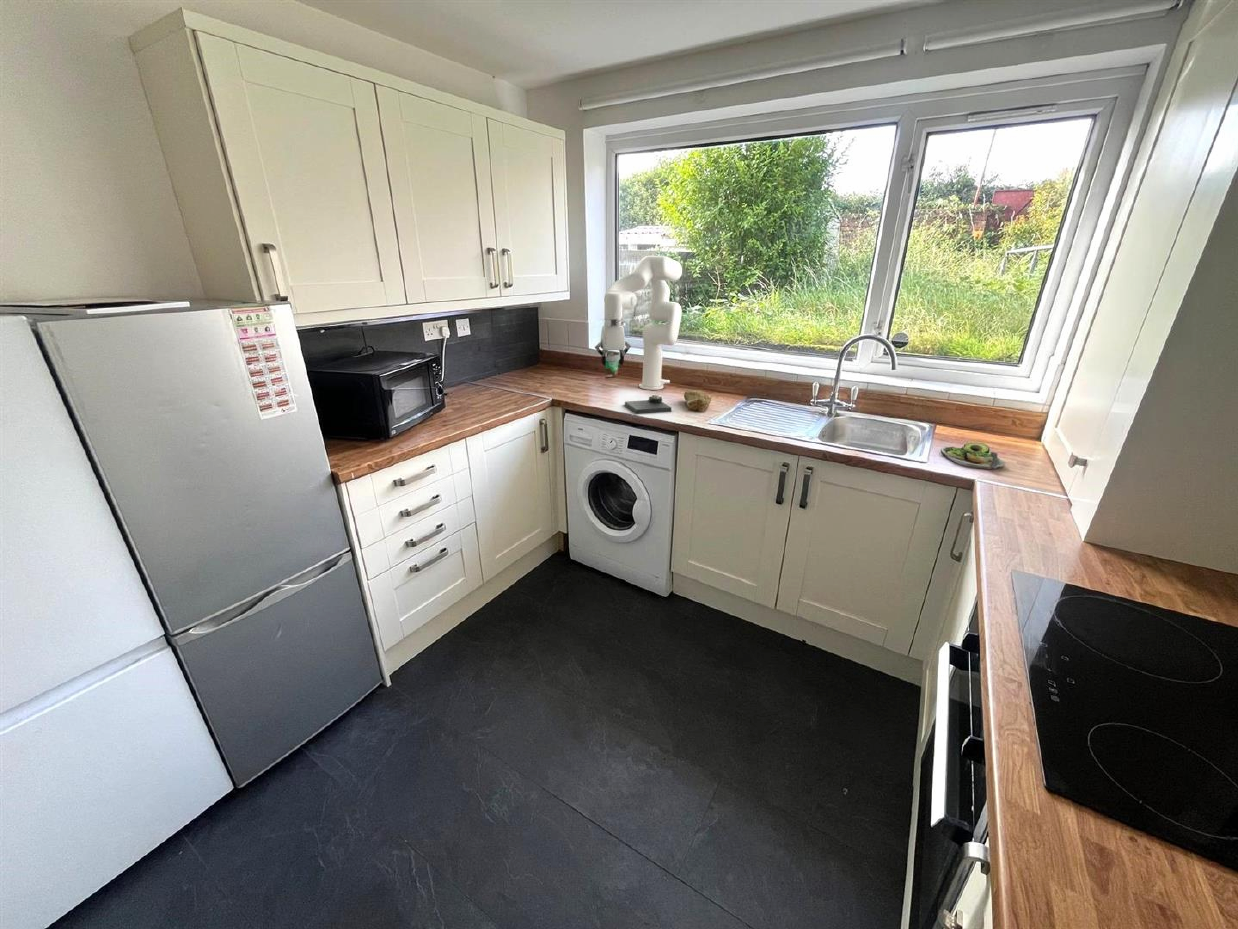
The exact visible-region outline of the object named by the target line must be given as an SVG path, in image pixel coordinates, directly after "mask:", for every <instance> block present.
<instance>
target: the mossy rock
mask: <svg viewBox="0 0 1238 929" xmlns="http://www.w3.org/2000/svg"><path fill="white" fill-rule="evenodd" d="M683 398H684V400H685V402H686V406H687V408H688V409H690V410H692V411H697V412H698V411H699V412H704V411H706V410H707V409H708V408H709V407H710V405H711V402H712V397H711V396H710V395H709V394H708V393H707V392H706V391H703V390H701V389H692V390H686V391H684V394H683Z"/></svg>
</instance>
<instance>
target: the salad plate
mask: <svg viewBox="0 0 1238 929" xmlns="http://www.w3.org/2000/svg"><path fill="white" fill-rule="evenodd" d="M990 450H991V448H990V446H988V445H987V444H986V443H982V442H967V443H965V444H963V446H962V447H955V446H942V447H941V448H940V453H941V454H942V455H943V456H944V457H946V458H947V459H948V460H950V461H951V462H954V463H956V464H957V465H960V466H963V467H967V468H973V469H984V470H992V469H997V468H1001V467H1004V466H1006V464H1007V463H1006V462H1005V461H1004V460H1002V459H1000V458H999V457H998V453H997V452H995V451H991V452H990Z"/></svg>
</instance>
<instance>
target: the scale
mask: <svg viewBox="0 0 1238 929" xmlns="http://www.w3.org/2000/svg"><path fill="white" fill-rule="evenodd" d="M624 407H626V408H627V409H629V410H630V411H632V413H634V414H635V415H643V414H656V413H671V412H672V407H671V406H670V405H668V404H667V403H664V402H663V397H662V396H659V398H658V399H654V398H652V395H650V396H649V397H648V399H646V400H629V401H628V400H626V401H624Z"/></svg>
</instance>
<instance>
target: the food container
mask: <svg viewBox="0 0 1238 929" xmlns="http://www.w3.org/2000/svg"><path fill="white" fill-rule="evenodd" d="M605 356H606V366H605V377H604V378H605V379H616V378H617V377H618V372H619V360H620V352H617V351H614V350H608V351H607V353H606V355H605Z"/></svg>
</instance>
